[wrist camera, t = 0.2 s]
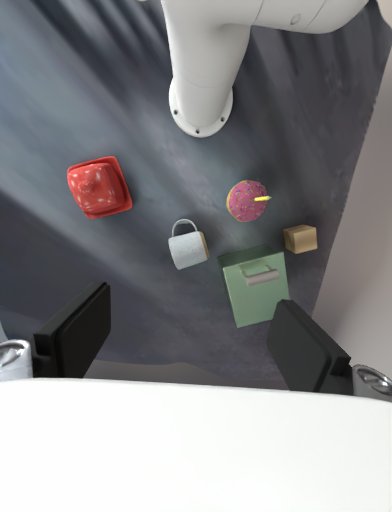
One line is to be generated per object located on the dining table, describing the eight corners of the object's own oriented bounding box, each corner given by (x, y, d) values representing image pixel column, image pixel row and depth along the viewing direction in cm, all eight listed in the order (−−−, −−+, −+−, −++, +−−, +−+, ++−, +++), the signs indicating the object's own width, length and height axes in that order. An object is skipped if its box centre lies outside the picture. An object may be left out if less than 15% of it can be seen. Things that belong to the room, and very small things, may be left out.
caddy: (217, 257, 48) (223, 270, 39) (265, 244, 47) (282, 254, 39) (229, 304, 52) (236, 325, 44) (273, 293, 52) (289, 312, 43)
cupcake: (251, 174, 42) (275, 166, 30) (264, 209, 44) (290, 213, 33) (217, 192, 43) (227, 191, 31) (232, 225, 45) (246, 235, 34)
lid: (222, 266, 39) (227, 278, 33) (281, 250, 38) (297, 260, 33) (236, 325, 44) (243, 344, 38) (289, 312, 43) (304, 329, 38)
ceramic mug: (209, 254, 47) (212, 264, 40) (179, 263, 48) (177, 275, 40) (197, 214, 44) (198, 217, 37) (165, 224, 45) (160, 229, 37)
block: (283, 229, 46) (293, 233, 41) (302, 224, 46) (316, 227, 41) (285, 248, 48) (295, 254, 43) (304, 243, 47) (317, 248, 42)
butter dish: (118, 155, 40) (100, 144, 32) (136, 208, 43) (124, 211, 35) (68, 168, 40) (37, 161, 32) (90, 220, 44) (67, 225, 36)
